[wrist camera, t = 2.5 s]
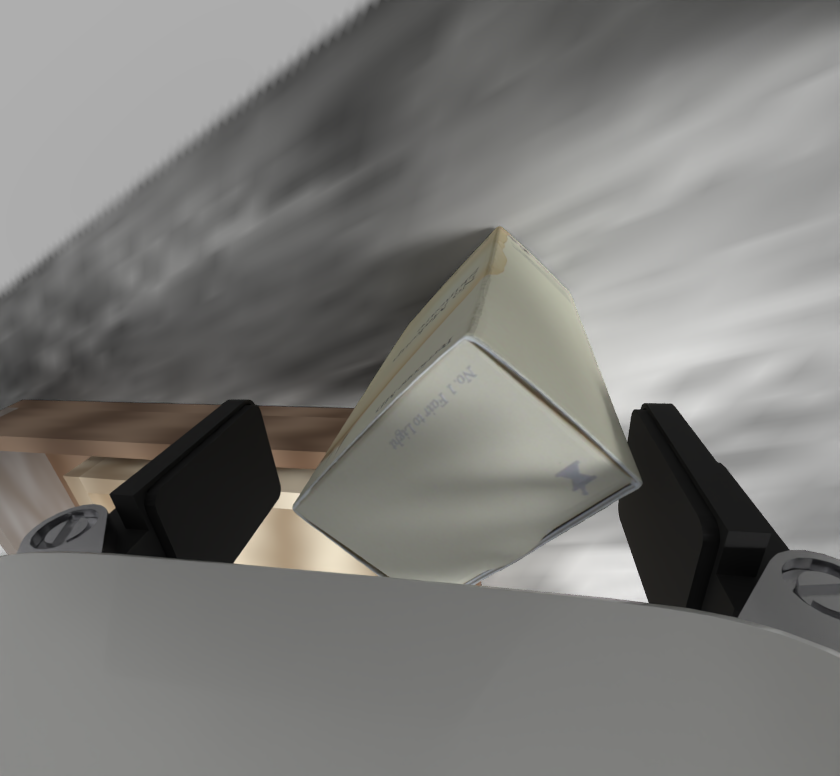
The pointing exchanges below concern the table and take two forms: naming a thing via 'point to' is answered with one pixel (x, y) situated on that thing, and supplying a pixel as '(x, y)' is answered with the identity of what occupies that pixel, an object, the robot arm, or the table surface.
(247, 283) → the table surface
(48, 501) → the wooden serving tray
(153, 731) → the robot arm
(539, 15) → the table surface
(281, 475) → the birch crate
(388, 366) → the skincare box
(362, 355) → the table surface
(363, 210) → the table surface
